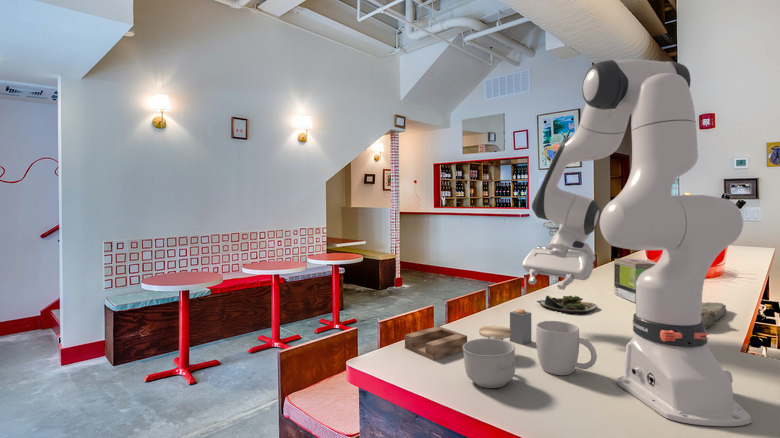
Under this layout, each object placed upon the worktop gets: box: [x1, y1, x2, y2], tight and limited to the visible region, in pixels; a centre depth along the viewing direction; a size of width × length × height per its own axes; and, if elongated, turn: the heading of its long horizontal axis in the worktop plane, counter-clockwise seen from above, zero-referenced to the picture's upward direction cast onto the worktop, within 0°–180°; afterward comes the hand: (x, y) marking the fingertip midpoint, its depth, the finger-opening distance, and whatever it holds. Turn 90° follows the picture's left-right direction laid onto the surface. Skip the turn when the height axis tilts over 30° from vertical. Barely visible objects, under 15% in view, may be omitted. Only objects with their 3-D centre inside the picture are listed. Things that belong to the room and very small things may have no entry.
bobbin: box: [478, 325, 512, 340], centre depth 105 cm, size 8×8×6 cm
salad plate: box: [536, 294, 598, 315], centre depth 149 cm, size 19×18×5 cm
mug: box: [535, 320, 598, 376], centre depth 93 cm, size 13×9×10 cm
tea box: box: [613, 258, 657, 304], centre depth 159 cm, size 15×10×15 cm
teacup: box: [462, 336, 516, 389], centre depth 90 cm, size 14×11×8 cm
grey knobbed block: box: [509, 308, 532, 346], centre depth 114 cm, size 4×4×9 cm
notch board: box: [404, 325, 468, 361], centre depth 109 cm, size 12×11×4 cm
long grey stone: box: [701, 301, 727, 330], centre depth 131 cm, size 35×5×10 cm
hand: (545, 285), depth 120 cm, fingers open, 8 cm apart
